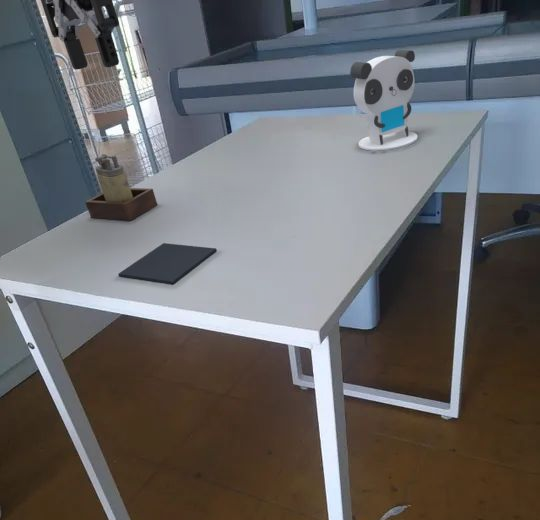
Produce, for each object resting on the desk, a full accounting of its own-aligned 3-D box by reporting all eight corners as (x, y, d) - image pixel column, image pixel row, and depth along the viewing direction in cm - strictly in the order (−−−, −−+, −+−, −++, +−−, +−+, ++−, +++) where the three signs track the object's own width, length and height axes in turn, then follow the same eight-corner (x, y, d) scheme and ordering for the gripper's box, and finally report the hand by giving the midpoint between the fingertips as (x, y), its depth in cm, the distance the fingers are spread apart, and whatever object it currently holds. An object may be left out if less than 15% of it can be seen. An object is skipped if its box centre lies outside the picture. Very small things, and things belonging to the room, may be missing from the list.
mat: (173, 284, 71) (172, 281, 71) (118, 276, 76) (117, 273, 76) (216, 250, 78) (216, 248, 77) (164, 245, 83) (163, 242, 82)
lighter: (106, 211, 101) (86, 156, 95) (123, 204, 103) (105, 150, 97) (124, 218, 96) (105, 160, 90) (142, 210, 98) (125, 153, 92)
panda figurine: (376, 155, 101) (372, 65, 92) (344, 145, 110) (337, 62, 101) (430, 138, 104) (430, 49, 96) (394, 129, 113) (392, 47, 104)
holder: (131, 220, 94) (125, 204, 93) (90, 217, 99) (84, 201, 98) (157, 204, 99) (152, 188, 97) (117, 202, 104) (112, 187, 102)
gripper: (0, -59, 72) (50, 75, 82) (52, -82, 63) (101, 71, 73) (50, -66, 76) (92, 63, 86) (105, -88, 67) (145, 58, 77)
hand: (96, 67), depth 79 cm, fingers open, 8 cm apart
